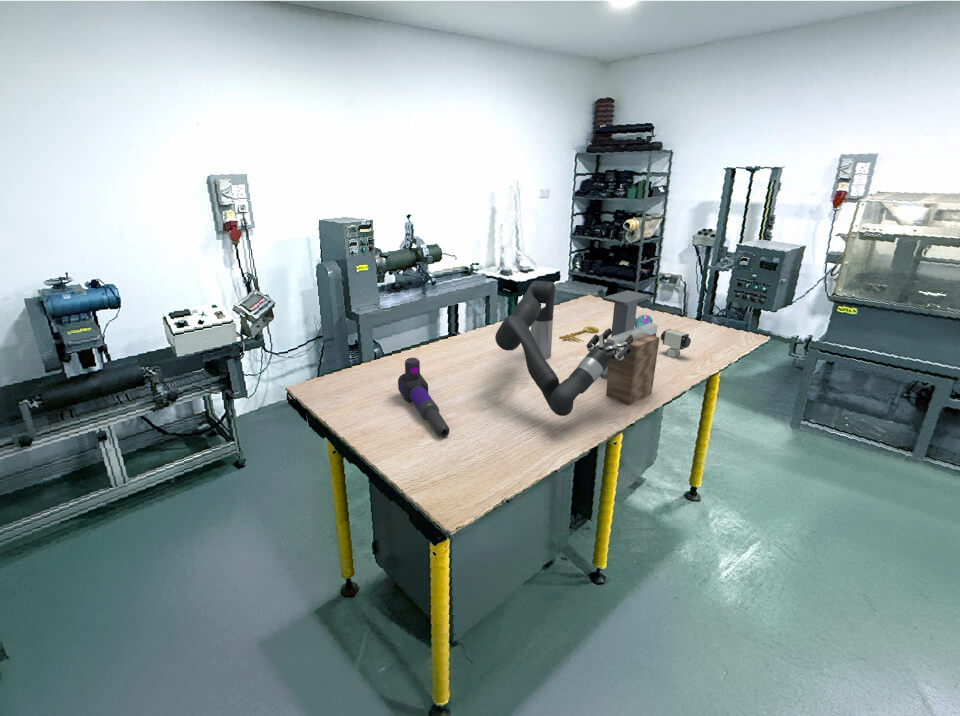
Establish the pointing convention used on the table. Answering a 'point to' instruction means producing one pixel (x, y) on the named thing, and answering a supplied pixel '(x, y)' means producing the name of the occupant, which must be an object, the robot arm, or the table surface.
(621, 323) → the steel stand
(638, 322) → the pencil case
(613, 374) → the block
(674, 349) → the mini surveillance camera
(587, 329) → the key
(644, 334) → the aluminium bar
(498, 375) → the table surface
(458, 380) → the table surface
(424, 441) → the table surface
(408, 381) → the device
